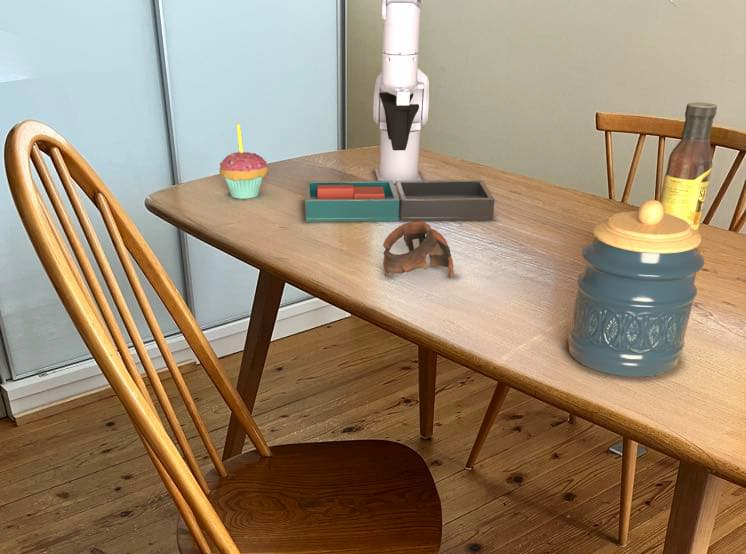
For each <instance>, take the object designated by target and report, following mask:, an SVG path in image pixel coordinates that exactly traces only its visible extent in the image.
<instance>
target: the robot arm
mask: <svg viewBox="0 0 746 554" xmlns="http://www.w3.org/2000/svg"><path fill="white" fill-rule="evenodd" d="M423 3H424V0H381V19H382V20H383V23H382V52H381V53H382V54H381V72H380V73H379V74H378V75H377V78H376V79H375V85H374V90H373V103H372V104H373V105H372V106H373V109H372V118H373V122H374V124H375V125H376V126H377V125H379V130H380V132H379V133H380V136H379V167H376V168H375V169H374V173H375V175H376V179H377V181H393V183H394V185H395V181H423V180H422V176H421V175H420V172H419V163H420V162H419V161H420V141H421V131H422V127H426V125H427V124H428V122H429V108H430V80H429V77H428V75H427V74H426V73H424V72H423V71H422V70H421V69H420V68H419V49H420V29H421V12H422V11H421V7H423ZM419 4H420V5H419Z"/></svg>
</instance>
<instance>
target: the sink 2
mask: <svg viewBox="0 0 746 554" xmlns="http://www.w3.org/2000/svg"><path fill="white" fill-rule="evenodd" d="M394 186H395V189H396V192H397V195H398V198H399V217H398V218H399V220H400V222H413V221H414V220H418V221H421V222H456V221H457V222H463V221H466V222H467V221H468V222H470V221H475V222H477V221H478V222H479V221H493V219H494V209H495V201H496V200H495V198H494V196H493V195H492V193H491V191H490V190H489V188H488V187H487V185H486V183H485V182H484V180H483V179H459V180H457V179H451V180H450V179H445V180H443V179H442V180H441V179H439V180H437V179H435V180H422V181H395V184H394Z"/></svg>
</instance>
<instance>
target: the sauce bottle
mask: <svg viewBox="0 0 746 554" xmlns="http://www.w3.org/2000/svg"><path fill="white" fill-rule="evenodd" d="M717 109H718V105H717V104H715V103H710V102H689V103H687V104H686V108H685V112H684V117H685V120H684V123H683V124H684V125H683V130H682V132H681V139H680V141H679V142H678V143H677V144H676V145H675V147H674V148H673V149H672V151H671V153H670V154H669V157H668V163H667V168H666V171H665V173H664V174H665V175H664V179H663V184H662V188H661V193H660V198H659V202H661V203H662V205H663V208H664V214H668V215H672V216H675V217H678V218H681V219H683V220H685V221H686V222H688V224H689V225H690V227H691V228H692V229H694V230H695V231H696V232H698V233H699V227H700V223H701V219H702V214H703V210H704V207H705V201H706V197H707V192H708V187H709V183H710V179H711V174H712V170H713V159H712V158H713V157H712V149H711V148H712V147H711V139H710V138H711V131H712V127H713V123H714V119H715V117H716V115H717Z"/></svg>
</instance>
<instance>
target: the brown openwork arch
mask: <svg viewBox="0 0 746 554" xmlns="http://www.w3.org/2000/svg"><path fill="white" fill-rule="evenodd" d="M402 238H403V242H404V243H405V245H406V247H407V248H408V251H407V252H404V253H399V254H398V253H396V254H395V253H392V252H390V250H391V248H392V247H393V245H395V243H397V242H398V241H399V240H400V239H402ZM383 247H384V251H383V252H382V253H383V254H382V255H383V261H382V268H383V272H384V275H385V276H386V277H389V276H390V274H399V275H402V274H404V273H405V272H406V273H410V272H413V271H415V270H417V269H423V270H428V269H429V268H428V264H427V262H428V261H427V256H428V257H429V260H430V266H431V267H443V268H447V269H448V270H449V277H450V278H451V279H452V278H454V277H455V271H454V261H453V257H452V254H451V250H450V246H449V244H448V241H447V239H446V238H445V237H444V236H443V234H441V233H440V232H438V231H437V230H435V229H433V228H432V227H431V226H430V224H428V223H427V222H426V221H418V220H414V221H408V222H406V223H403V224H401V225H400V226H398V227H397V228H395V229H394V230H392V232H390V233H389V234H388V235H387V237H386V238H385V239H384V241H383Z"/></svg>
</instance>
